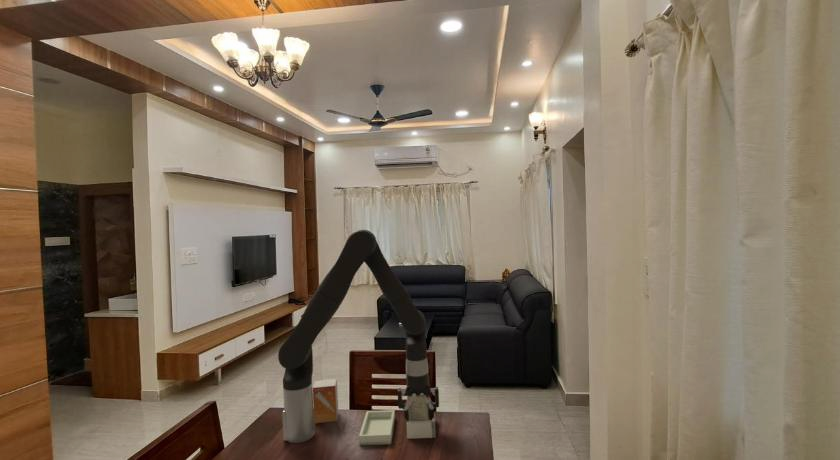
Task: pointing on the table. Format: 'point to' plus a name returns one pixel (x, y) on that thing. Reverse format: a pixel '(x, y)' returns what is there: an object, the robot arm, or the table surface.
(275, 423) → the table surface
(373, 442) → the tray
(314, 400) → the small box
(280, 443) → the table surface
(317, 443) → the table surface
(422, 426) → the off-white card holder
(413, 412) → the skincare box
